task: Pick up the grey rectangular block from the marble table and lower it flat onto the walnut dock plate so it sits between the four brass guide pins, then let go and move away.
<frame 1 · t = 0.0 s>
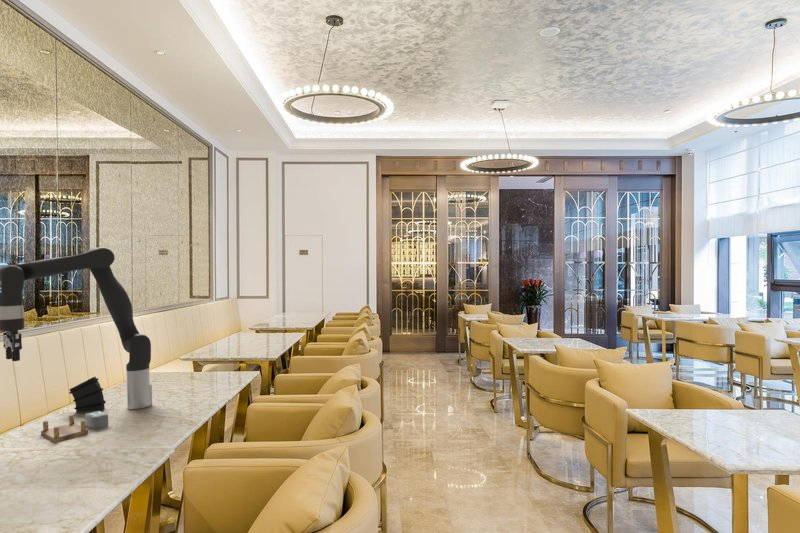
hand: (12, 359, 179), 29 cm above the table, tool pointing down, fingers open, 8 cm apart
black ribbed wedge: (87, 411, 210), on the table
dock: (64, 434, 180), on the table
grey rectangular block: (96, 426, 188), on the table
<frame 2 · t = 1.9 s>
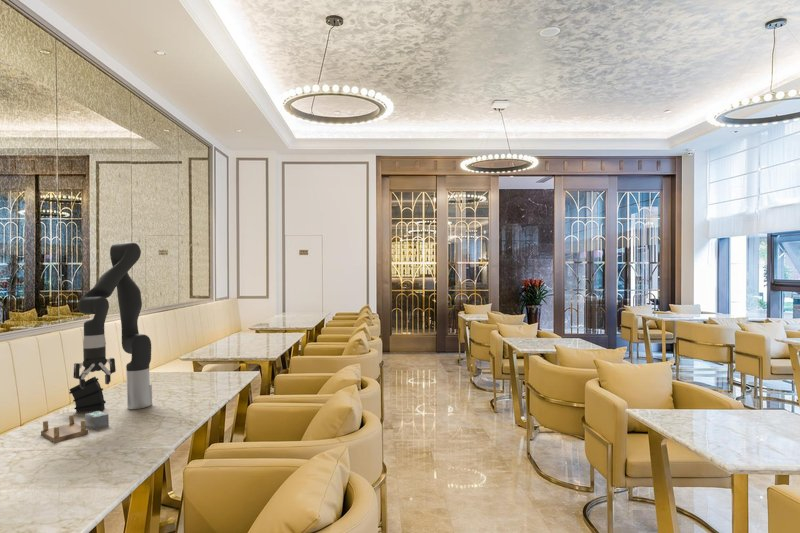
hand: (95, 386, 188), 16 cm above the table, tool pointing down, fingers open, 8 cm apart
nothing on the table moved.
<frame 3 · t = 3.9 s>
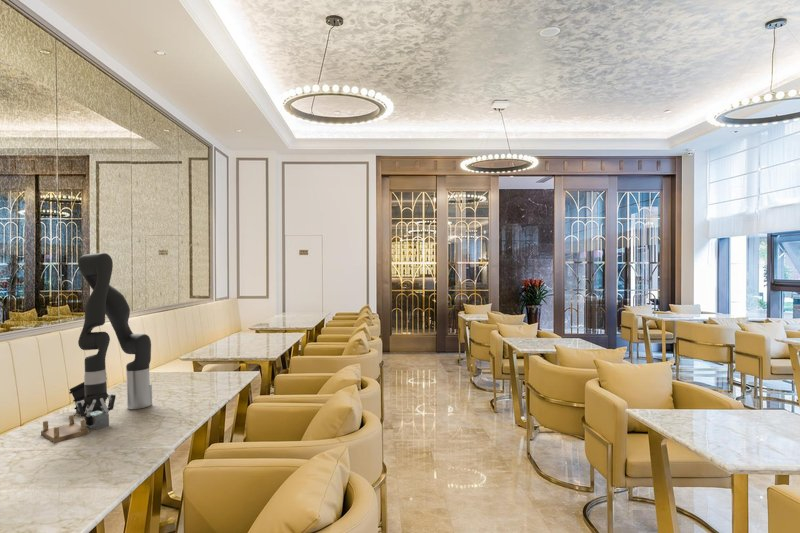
hand: (96, 423, 188), 1 cm above the table, tool pointing down, fingers closed on grey rectangular block, 5 cm apart
grey rectangular block: (96, 426, 188), on the table, touching gripper
everything else where it was.
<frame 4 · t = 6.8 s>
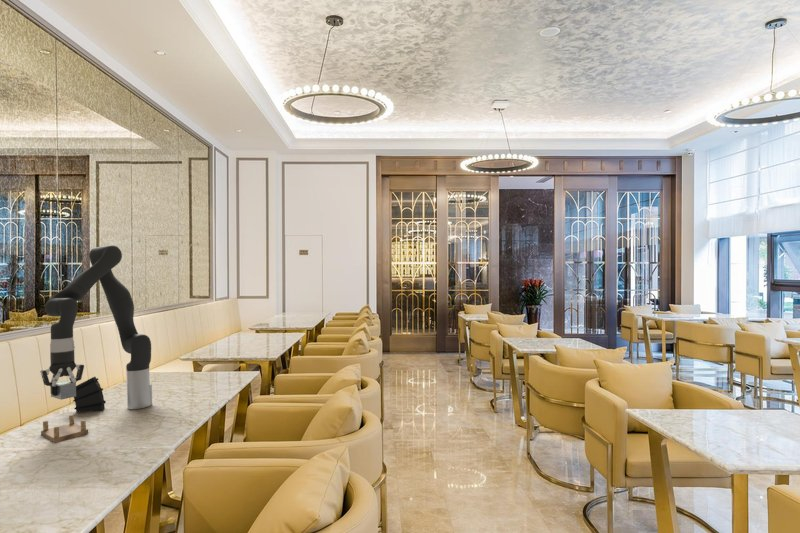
hand: (63, 393, 180), 15 cm above the table, tool pointing down, fingers closed on grey rectangular block, 5 cm apart
grey rectangular block: (63, 396, 180), point 14 cm above the table, touching gripper
everything else where it was.
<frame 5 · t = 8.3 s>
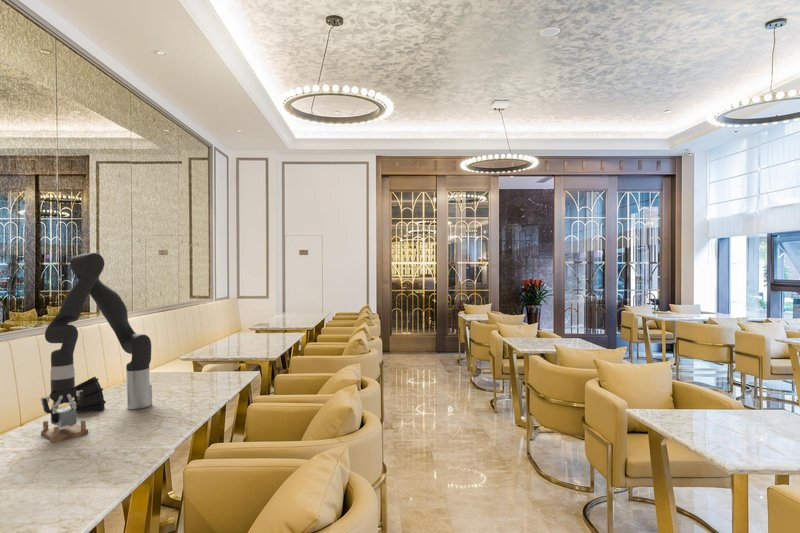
hand: (63, 420, 180), 5 cm above the table, tool pointing down, fingers closed on grey rectangular block, 5 cm apart
grey rectangular block: (63, 423, 180), point 4 cm above the table, touching gripper
everything else where it was.
when the fingers open (4 cm above the table, at t = 9.4 s): grey rectangular block drops 1 cm, resting on dock.
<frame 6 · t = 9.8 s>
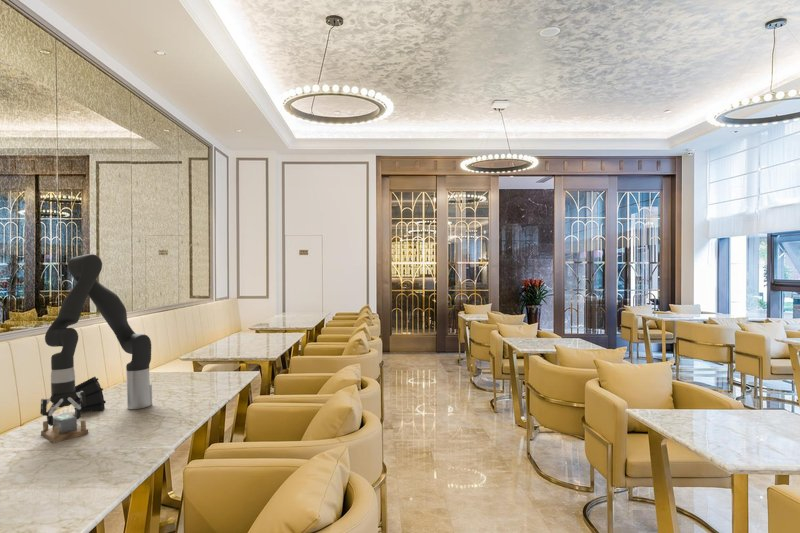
hand: (64, 422, 180), 5 cm above the table, tool pointing down, fingers open, 8 cm apart
grey rectangular block: (64, 430, 180), point 1 cm above the table, touching dock
everything else where it was.
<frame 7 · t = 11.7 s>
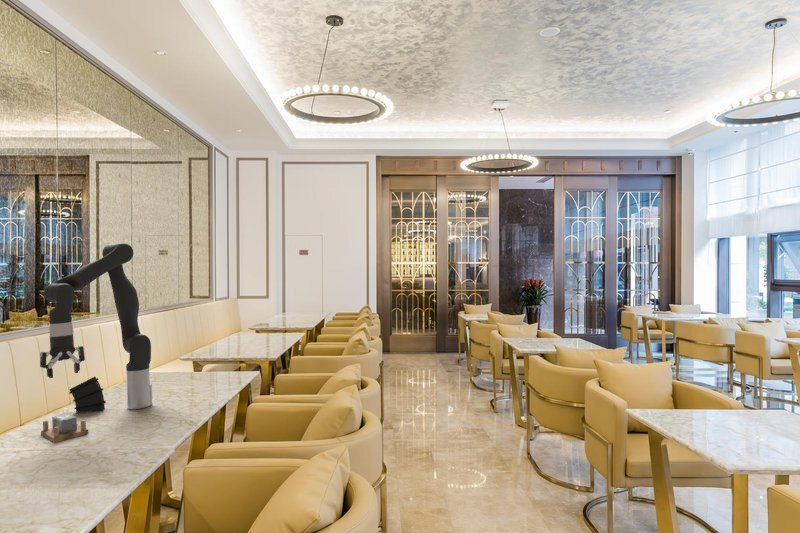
hand: (63, 375, 184), 22 cm above the table, tool pointing down, fingers open, 8 cm apart
nothing on the table moved.
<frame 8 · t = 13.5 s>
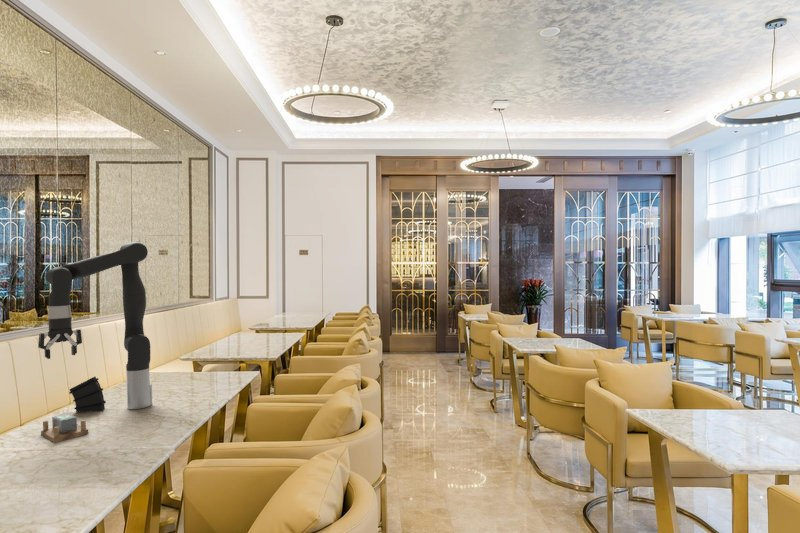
hand: (61, 356, 190), 28 cm above the table, tool pointing down, fingers open, 8 cm apart
nothing on the table moved.
at the end: grey rectangular block 0.0 cm off-centre on the dock, point 1.5 cm above the dock's base; grey rectangular block tilted 0°; the gripper is holding nothing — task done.
